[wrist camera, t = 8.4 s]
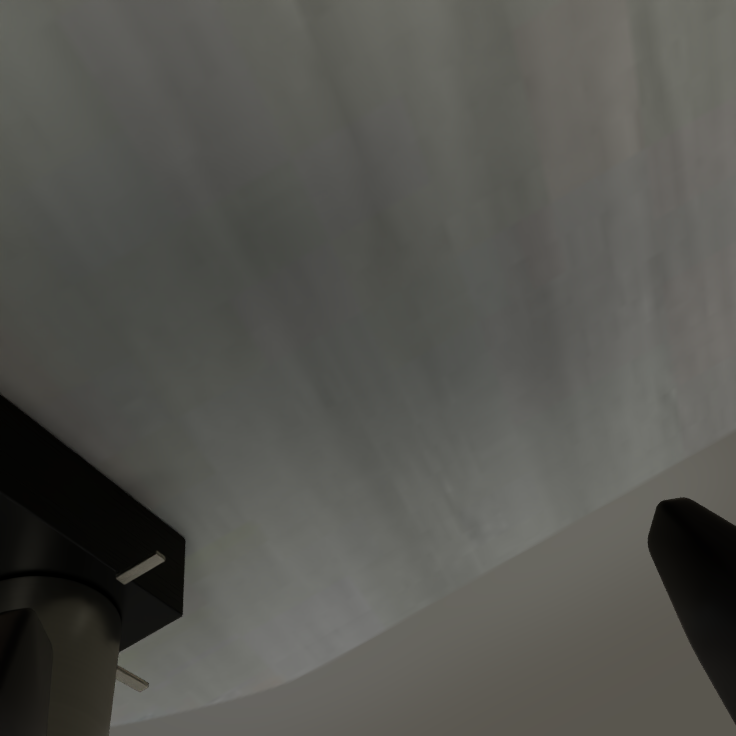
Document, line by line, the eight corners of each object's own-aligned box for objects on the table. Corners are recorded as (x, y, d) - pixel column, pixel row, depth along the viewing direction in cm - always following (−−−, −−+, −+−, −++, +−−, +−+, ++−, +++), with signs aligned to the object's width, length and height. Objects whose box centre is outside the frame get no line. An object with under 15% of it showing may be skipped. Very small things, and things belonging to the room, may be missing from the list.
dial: (38, 692, 20) (-1, 876, 17) (-89, 628, 18) (-172, 827, 14) (154, 625, 20) (141, 801, 16) (38, 550, 17) (-12, 736, 13)
